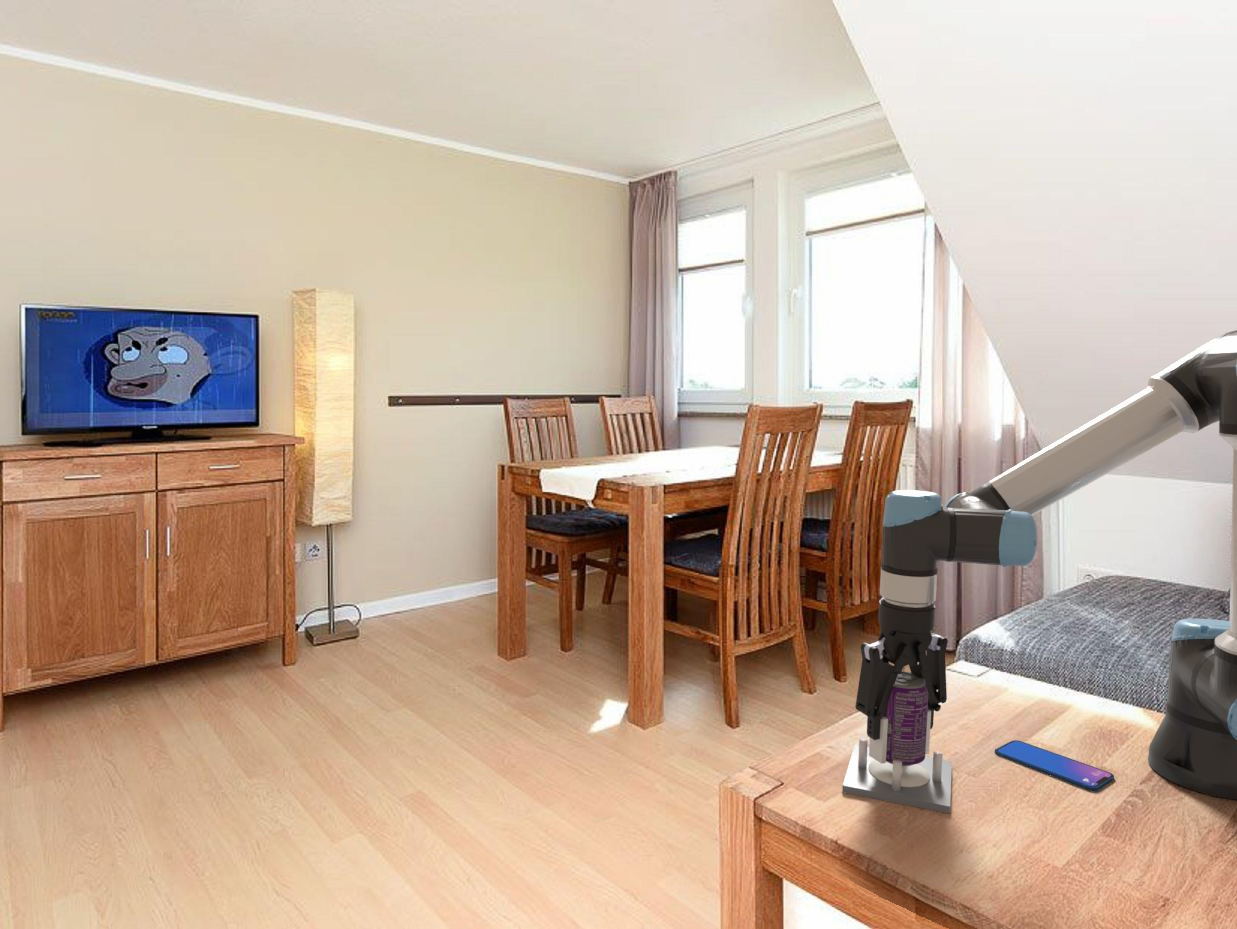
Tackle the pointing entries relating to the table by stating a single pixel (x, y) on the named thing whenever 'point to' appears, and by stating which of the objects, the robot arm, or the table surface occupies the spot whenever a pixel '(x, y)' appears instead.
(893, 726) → the beverage can
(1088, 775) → the smartphone
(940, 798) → the grey peg holder stand
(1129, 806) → the table surface
